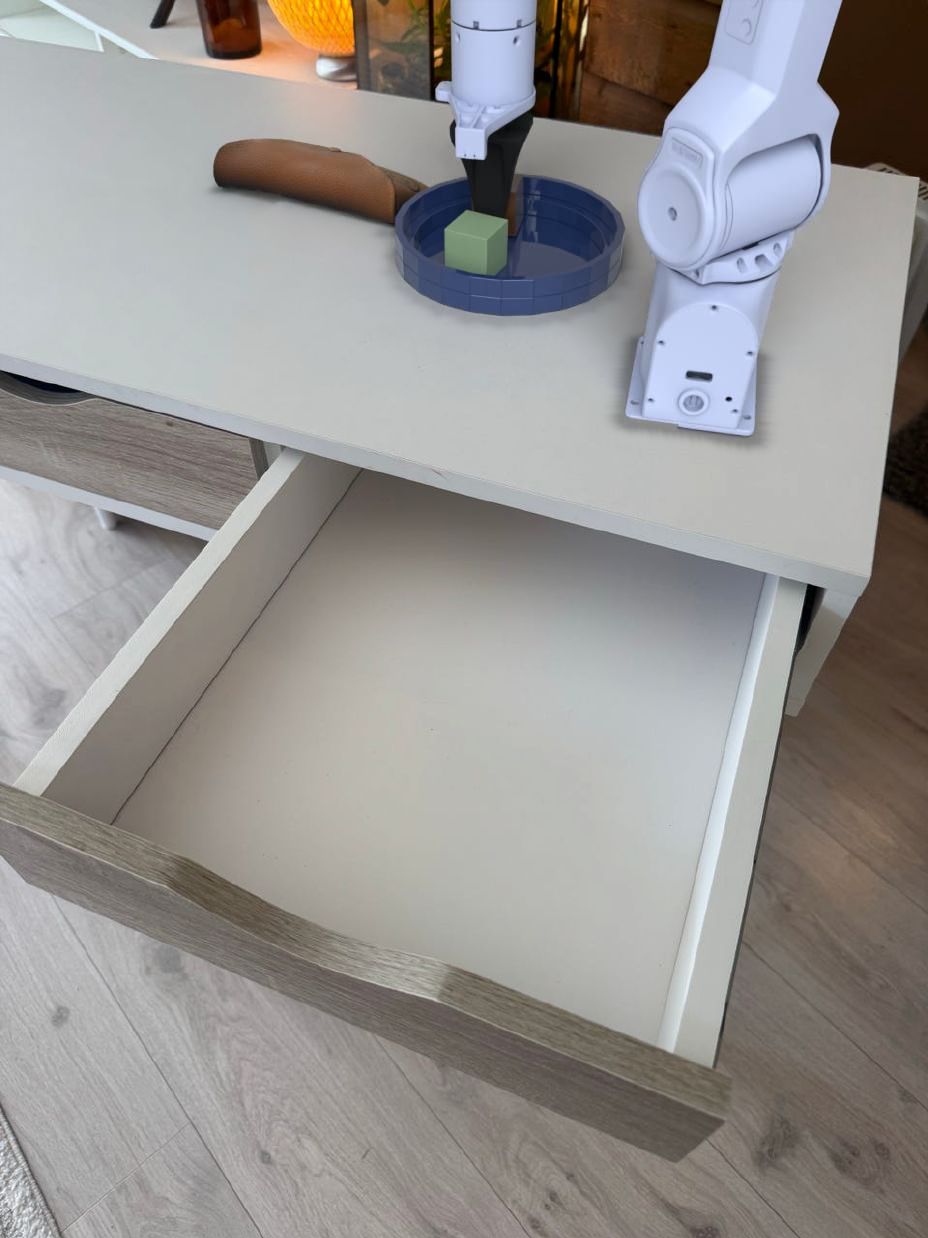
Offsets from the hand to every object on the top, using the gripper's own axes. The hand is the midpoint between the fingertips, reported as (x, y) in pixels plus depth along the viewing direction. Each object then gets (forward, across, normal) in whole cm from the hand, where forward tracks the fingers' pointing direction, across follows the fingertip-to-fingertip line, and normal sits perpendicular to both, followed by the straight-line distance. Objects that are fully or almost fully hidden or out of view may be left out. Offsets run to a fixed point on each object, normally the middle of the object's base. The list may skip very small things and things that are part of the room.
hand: (490, 218), depth 73 cm
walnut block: (+2, -2, 0) cm, 3 cm away
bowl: (+2, +2, +2) cm, 4 cm away
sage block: (+2, +5, 0) cm, 5 cm away
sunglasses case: (+2, -6, -16) cm, 17 cm away
